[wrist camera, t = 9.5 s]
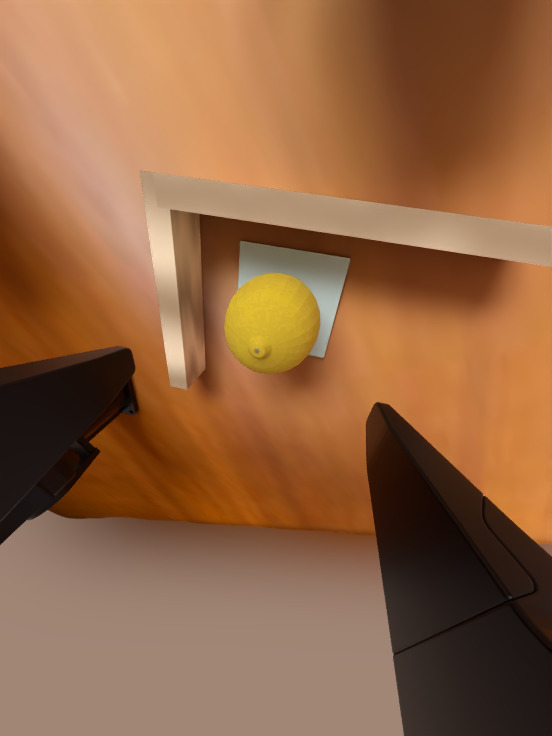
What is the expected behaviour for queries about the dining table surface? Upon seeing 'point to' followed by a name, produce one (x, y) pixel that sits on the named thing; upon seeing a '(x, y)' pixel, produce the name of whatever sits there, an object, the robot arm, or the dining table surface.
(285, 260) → the pad
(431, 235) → the beige l-shaped bar
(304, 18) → the dining table surface
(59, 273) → the dining table surface
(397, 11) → the dining table surface
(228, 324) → the lemon
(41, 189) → the dining table surface
